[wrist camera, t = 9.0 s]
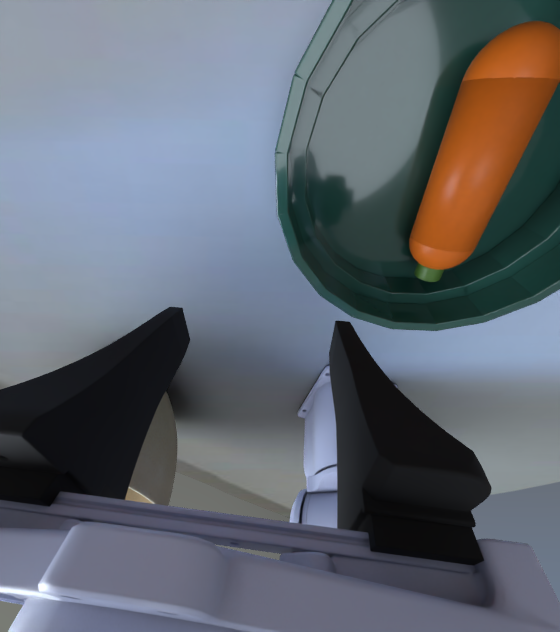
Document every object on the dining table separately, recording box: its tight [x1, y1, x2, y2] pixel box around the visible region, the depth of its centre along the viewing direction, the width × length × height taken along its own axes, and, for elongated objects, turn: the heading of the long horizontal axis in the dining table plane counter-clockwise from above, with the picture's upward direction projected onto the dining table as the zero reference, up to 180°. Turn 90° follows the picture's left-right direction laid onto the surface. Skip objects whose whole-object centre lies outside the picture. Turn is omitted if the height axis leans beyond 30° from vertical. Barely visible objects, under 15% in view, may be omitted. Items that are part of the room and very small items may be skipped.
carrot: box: [409, 21, 560, 282], centre depth 14 cm, size 12×4×4 cm
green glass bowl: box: [275, 0, 560, 331], centre depth 14 cm, size 17×17×5 cm
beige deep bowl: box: [125, 392, 177, 506], centre depth 28 cm, size 18×18×12 cm
